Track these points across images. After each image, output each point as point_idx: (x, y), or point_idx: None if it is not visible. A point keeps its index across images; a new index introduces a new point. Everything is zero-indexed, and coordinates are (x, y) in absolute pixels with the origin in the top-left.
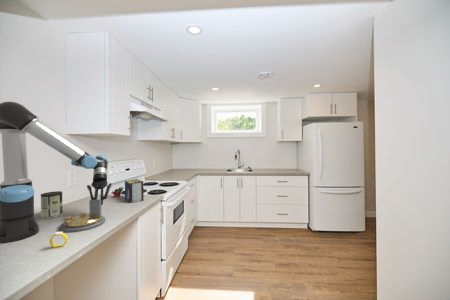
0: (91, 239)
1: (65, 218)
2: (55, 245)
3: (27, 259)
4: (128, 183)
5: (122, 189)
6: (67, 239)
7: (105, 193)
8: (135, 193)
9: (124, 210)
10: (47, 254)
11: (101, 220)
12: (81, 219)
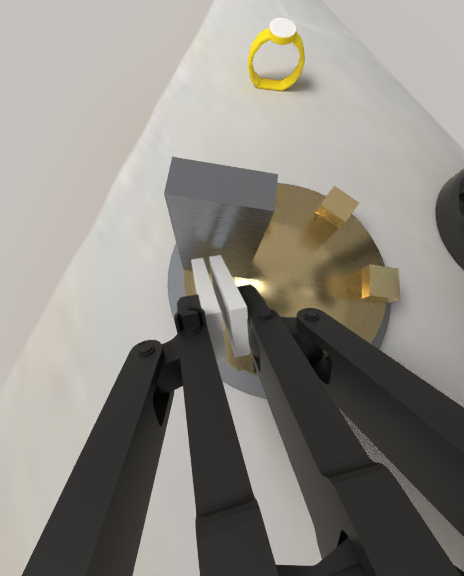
0: (174, 100)
1: (391, 269)
2: (282, 86)
3: (313, 39)
4: None
5: None
6: (248, 64)
7: (140, 388)
8: None
9: None
10: (274, 47)
11: (183, 272)
12: (293, 258)
